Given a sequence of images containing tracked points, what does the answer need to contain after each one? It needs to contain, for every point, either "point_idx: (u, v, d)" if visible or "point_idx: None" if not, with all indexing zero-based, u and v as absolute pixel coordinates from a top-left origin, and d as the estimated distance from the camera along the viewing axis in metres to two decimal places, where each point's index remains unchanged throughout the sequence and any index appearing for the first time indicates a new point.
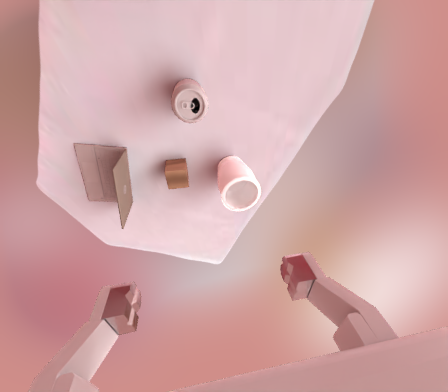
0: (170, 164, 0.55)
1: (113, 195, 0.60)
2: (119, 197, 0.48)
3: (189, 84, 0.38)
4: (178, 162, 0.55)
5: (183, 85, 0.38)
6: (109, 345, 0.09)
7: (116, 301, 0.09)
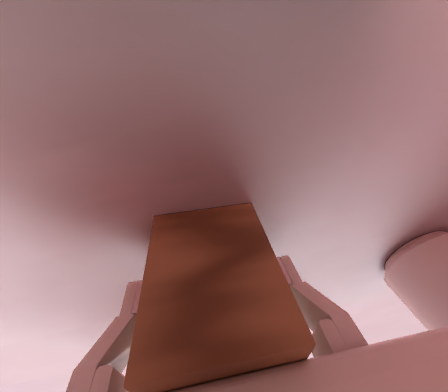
0: None
1: None
2: None
3: None
4: None
5: None
6: None
7: None
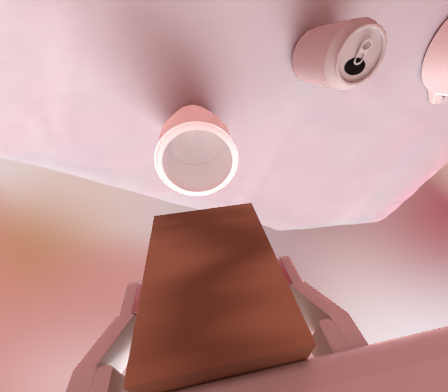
0: None
1: None
2: None
3: None
4: None
5: None
6: None
7: None
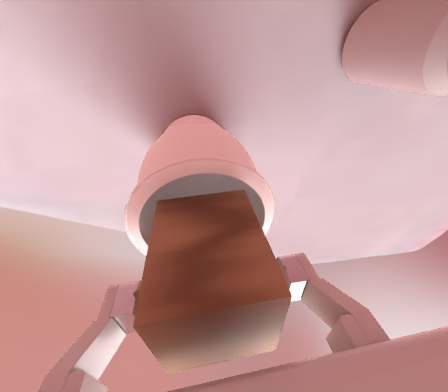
0: None
1: None
2: None
3: None
4: None
5: None
6: (117, 343, 0.09)
7: (124, 300, 0.09)
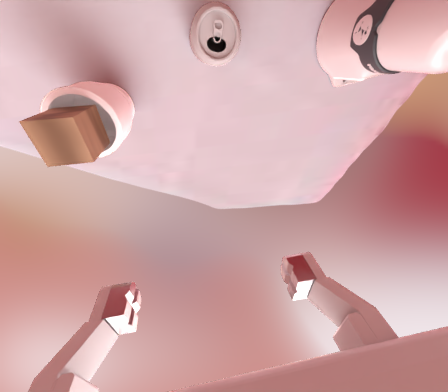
0: (91, 120, 0.26)
1: None
2: None
3: (239, 38, 0.30)
4: (100, 134, 0.28)
5: (239, 28, 0.29)
6: (109, 345, 0.09)
7: (116, 301, 0.09)
